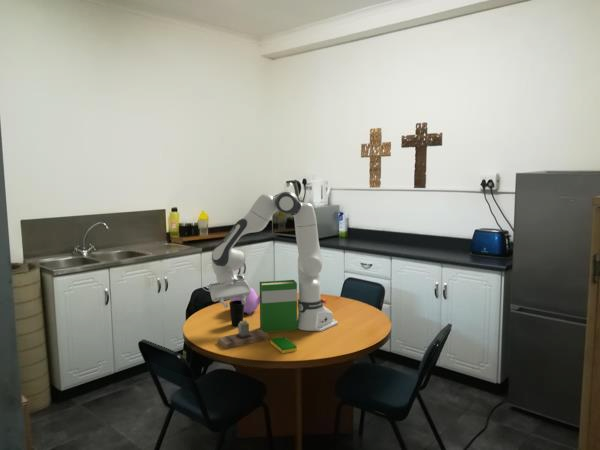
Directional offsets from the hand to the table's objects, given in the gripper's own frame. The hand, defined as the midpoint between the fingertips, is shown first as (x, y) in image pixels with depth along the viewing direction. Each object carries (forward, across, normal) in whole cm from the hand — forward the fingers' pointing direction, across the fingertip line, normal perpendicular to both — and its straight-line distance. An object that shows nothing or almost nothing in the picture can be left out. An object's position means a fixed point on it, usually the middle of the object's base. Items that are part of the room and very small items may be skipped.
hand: (235, 305), depth 225 cm
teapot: (-9, +19, +30) cm, 36 cm away
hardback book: (+14, +21, +7) cm, 26 cm away
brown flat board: (+18, -1, +3) cm, 18 cm away
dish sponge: (+29, +12, -8) cm, 32 cm away
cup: (+2, +6, +18) cm, 20 cm away
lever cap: (+16, -1, +2) cm, 17 cm away
